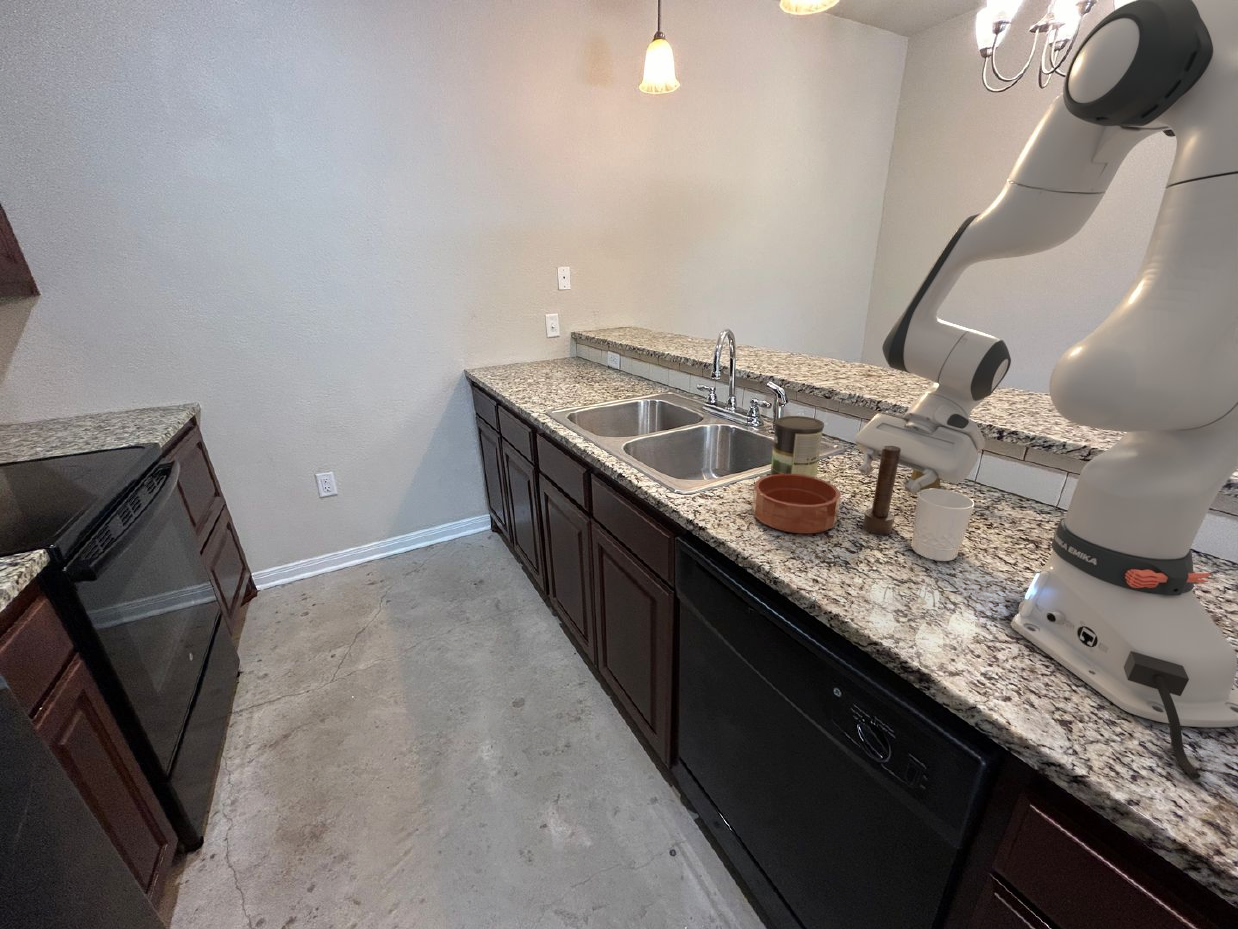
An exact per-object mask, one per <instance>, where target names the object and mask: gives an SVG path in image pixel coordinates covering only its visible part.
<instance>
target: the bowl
mask: <svg viewBox="0 0 1238 929" xmlns="http://www.w3.org/2000/svg"><path fill="white" fill-rule="evenodd" d="M752 498H753V499H752V513H753V515H754V517H755V518H756V519H757V520H758V521H759V522H761V523H762V524H764V525H766V526H768V527H770V528H772V529H775V530H780V531H783V532H786V533H787V532H788V533H793V534H817V533H821V532H826V531H828V530H830V529H832V528H833V527H834V526H835V525H836V524H837V521H838V515H839V509H840V502H841V490H839V489H838V488H837V486H835V485H834V484H832V483H830V482H828V481H827V480H823V479H821V478H818V477H816V478H815V477H811V476H806V475H799V474H775V475H770V474H769V475H766V476H762V477H760V478H759V479H757V480H756V481H755V484H754V487H753V496H752Z"/></svg>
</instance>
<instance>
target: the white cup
mask: <svg viewBox="0 0 1238 929" xmlns="http://www.w3.org/2000/svg"><path fill="white" fill-rule="evenodd" d="M916 498H917V499H916V504H915V505H916V506H915V510H914V518H913V527H912V528H913V529H912V536H911V537H912V538H911V544H910V545H911V549H912V550H913V551H914V552H915V553H916V554H918V555H919V556H922V557H924V558H926V559H929V560H933V561H940V562H948V561H954V560H955V559H956V558H957V557H958V556H959V552H960V548H961V545H962V543H963V541H964V538H965V536H966V533H967V530H968V526H969V523H970V521H971V517H972V515H973V512H974V511H973V510H974V508H975V504H976V503H975V501H974V499H972V498H971V497H969V496H967V495H965V494H963V493H961V492H957V491H954V490H950V489H943V488H940V489H924V490H919V491H918V492H917V497H916Z"/></svg>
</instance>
